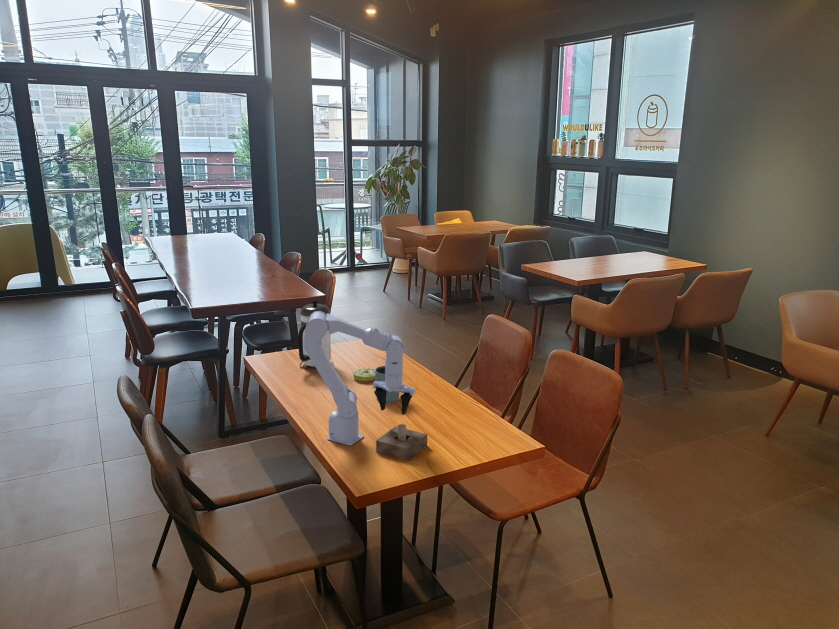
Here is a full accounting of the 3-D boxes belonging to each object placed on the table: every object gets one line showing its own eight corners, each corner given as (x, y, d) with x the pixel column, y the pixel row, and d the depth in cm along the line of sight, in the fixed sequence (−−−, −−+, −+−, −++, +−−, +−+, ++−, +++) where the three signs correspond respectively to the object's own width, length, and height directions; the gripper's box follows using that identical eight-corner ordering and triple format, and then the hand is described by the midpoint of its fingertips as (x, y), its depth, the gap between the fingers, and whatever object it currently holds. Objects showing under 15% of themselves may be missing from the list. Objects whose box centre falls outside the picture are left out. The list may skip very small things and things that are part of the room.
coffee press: (294, 362, 282) (292, 296, 274) (330, 359, 287) (329, 294, 279) (299, 375, 266) (297, 306, 258) (337, 371, 271) (336, 304, 263)
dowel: (396, 449, 203) (396, 426, 201) (400, 446, 205) (400, 423, 203) (403, 451, 201) (403, 428, 199) (407, 448, 204) (407, 425, 201)
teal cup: (370, 400, 241) (369, 371, 237) (383, 392, 249) (383, 363, 246) (393, 406, 236) (393, 376, 233) (406, 397, 245) (406, 368, 242)
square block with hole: (376, 451, 201) (376, 440, 200) (395, 437, 211) (395, 426, 210) (409, 460, 195) (409, 449, 194) (427, 445, 206) (427, 434, 204)
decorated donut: (383, 377, 266) (383, 368, 265) (372, 385, 257) (372, 376, 256) (361, 373, 270) (361, 365, 269) (349, 381, 260) (349, 373, 259)
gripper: (368, 372, 204) (368, 411, 208) (409, 380, 198) (408, 420, 202) (378, 366, 210) (378, 404, 214) (418, 373, 205) (417, 412, 208)
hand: (393, 411), depth 208 cm, fingers open, 7 cm apart
